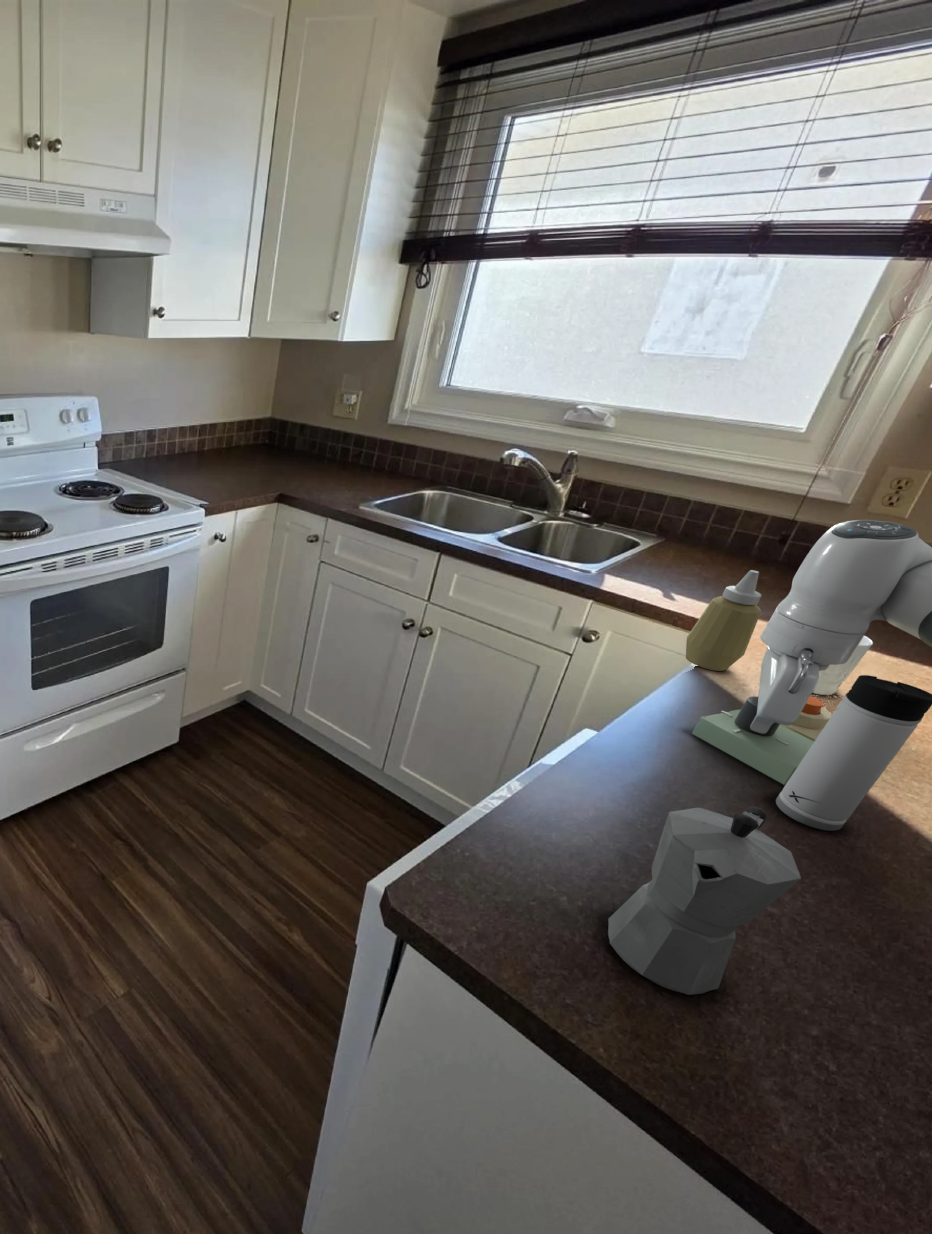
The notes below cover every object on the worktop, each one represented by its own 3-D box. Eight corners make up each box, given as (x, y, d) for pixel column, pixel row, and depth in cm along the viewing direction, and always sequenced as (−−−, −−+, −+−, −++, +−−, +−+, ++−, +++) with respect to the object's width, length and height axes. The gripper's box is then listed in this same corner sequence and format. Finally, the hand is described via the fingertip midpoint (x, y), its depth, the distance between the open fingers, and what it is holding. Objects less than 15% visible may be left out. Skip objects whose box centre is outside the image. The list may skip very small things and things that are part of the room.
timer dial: (773, 740, 96) (788, 715, 94) (733, 726, 98) (747, 702, 96) (774, 727, 98) (789, 703, 96) (735, 715, 101) (749, 691, 99)
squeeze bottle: (672, 661, 122) (718, 569, 114) (683, 648, 127) (729, 558, 118) (728, 680, 117) (782, 584, 108) (738, 665, 121) (790, 573, 113)
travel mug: (780, 819, 85) (871, 686, 76) (770, 791, 90) (854, 662, 81) (847, 840, 82) (951, 705, 73) (833, 810, 87) (928, 679, 78)
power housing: (860, 748, 100) (875, 726, 98) (821, 758, 97) (836, 736, 95) (774, 708, 109) (787, 687, 107) (736, 716, 106) (749, 694, 105)
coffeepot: (692, 1028, 60) (797, 886, 52) (578, 950, 67) (655, 813, 59) (747, 946, 68) (846, 812, 60) (640, 884, 75) (716, 755, 67)
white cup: (773, 682, 116) (804, 631, 112) (780, 668, 121) (809, 618, 116) (837, 703, 111) (871, 650, 106) (840, 687, 116) (874, 635, 111)
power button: (823, 713, 101) (829, 704, 100) (807, 717, 100) (813, 707, 99) (795, 700, 104) (801, 691, 104) (779, 704, 103) (785, 694, 102)
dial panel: (831, 772, 94) (843, 754, 93) (783, 784, 92) (796, 766, 90) (734, 722, 105) (744, 705, 103) (689, 732, 102) (699, 715, 100)
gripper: (844, 674, 83) (786, 763, 89) (837, 622, 96) (787, 703, 103) (776, 656, 86) (725, 742, 93) (778, 608, 100) (733, 687, 106)
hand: (757, 721), depth 98 cm, fingers closed on timer dial, 4 cm apart
